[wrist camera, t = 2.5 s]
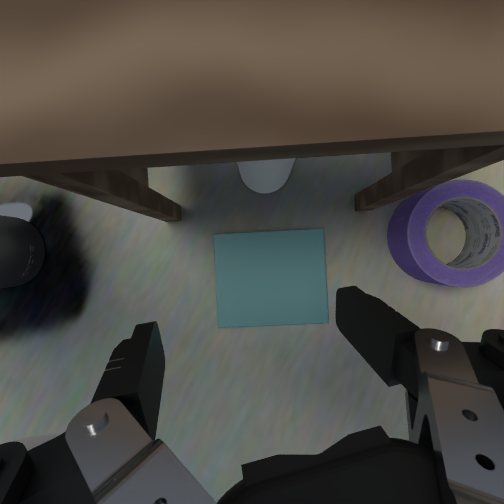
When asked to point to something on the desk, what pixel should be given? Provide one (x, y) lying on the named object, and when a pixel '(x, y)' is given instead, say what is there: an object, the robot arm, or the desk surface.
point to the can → (265, 174)
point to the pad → (271, 278)
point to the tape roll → (476, 225)
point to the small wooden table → (247, 90)
